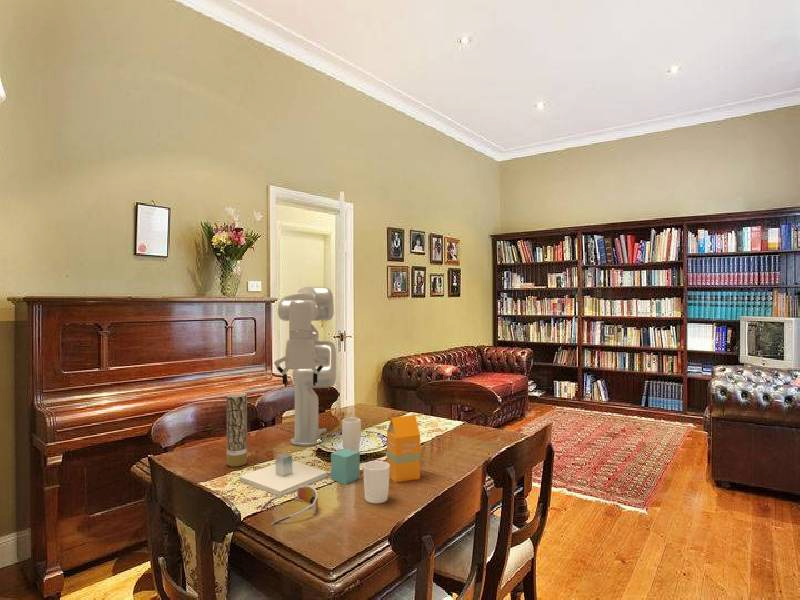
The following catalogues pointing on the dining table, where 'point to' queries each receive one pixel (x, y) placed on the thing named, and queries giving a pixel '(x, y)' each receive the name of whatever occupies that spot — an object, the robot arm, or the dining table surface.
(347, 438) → the drinking glass
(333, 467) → the mint green cube
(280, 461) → the grey upright block
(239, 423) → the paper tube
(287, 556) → the dining table surface
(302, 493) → the sunglasses
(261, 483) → the post board
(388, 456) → the orange juice
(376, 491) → the white cup
